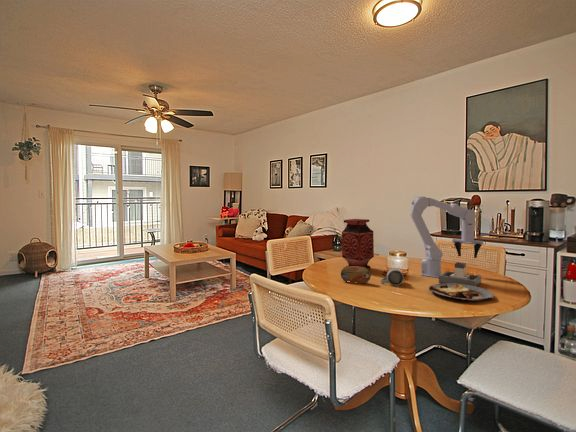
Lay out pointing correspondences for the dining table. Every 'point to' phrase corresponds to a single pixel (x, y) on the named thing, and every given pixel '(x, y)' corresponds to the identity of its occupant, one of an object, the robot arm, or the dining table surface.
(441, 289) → the food plate
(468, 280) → the caddy
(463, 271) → the block
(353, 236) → the vase
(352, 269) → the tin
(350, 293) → the dining table surface
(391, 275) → the ceramic mug
